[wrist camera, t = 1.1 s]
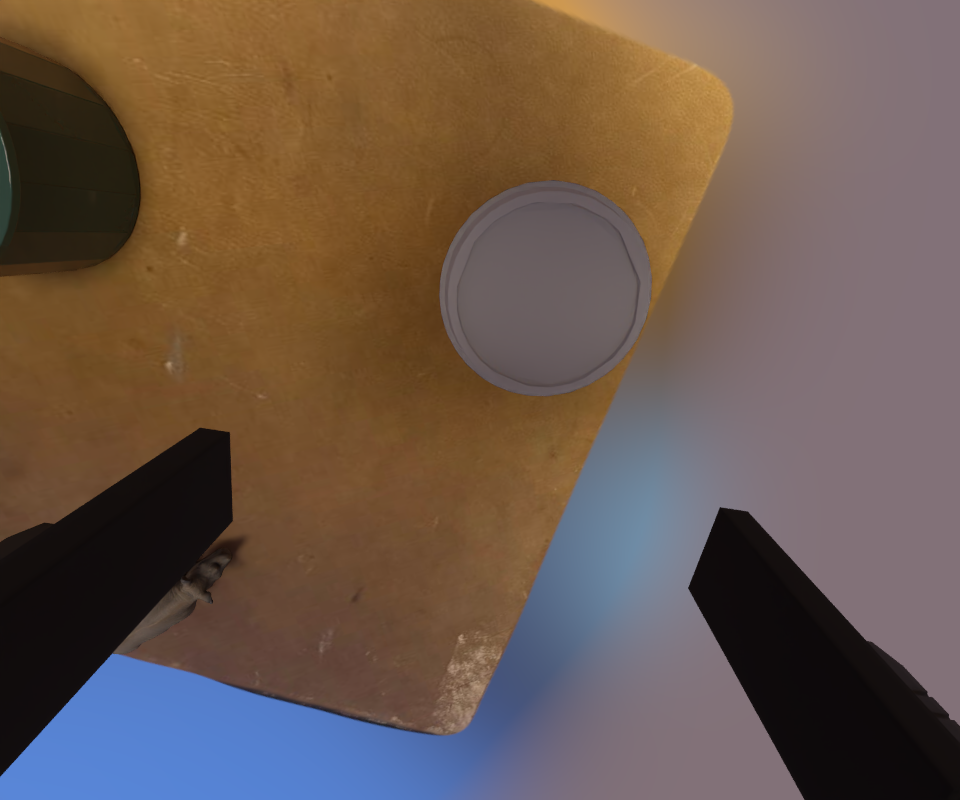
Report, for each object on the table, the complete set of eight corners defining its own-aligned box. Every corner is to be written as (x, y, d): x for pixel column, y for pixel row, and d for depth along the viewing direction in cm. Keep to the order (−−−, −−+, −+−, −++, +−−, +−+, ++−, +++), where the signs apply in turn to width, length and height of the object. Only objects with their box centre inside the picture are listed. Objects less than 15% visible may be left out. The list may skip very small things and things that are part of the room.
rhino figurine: (267, 554, 39) (229, 607, 33) (156, 619, 42) (103, 679, 36) (234, 519, 38) (189, 568, 32) (122, 588, 41) (62, 645, 35)
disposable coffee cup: (590, 348, 32) (643, 408, 21) (455, 343, 32) (436, 401, 21) (607, 201, 29) (680, 180, 18) (457, 197, 29) (436, 172, 18)
